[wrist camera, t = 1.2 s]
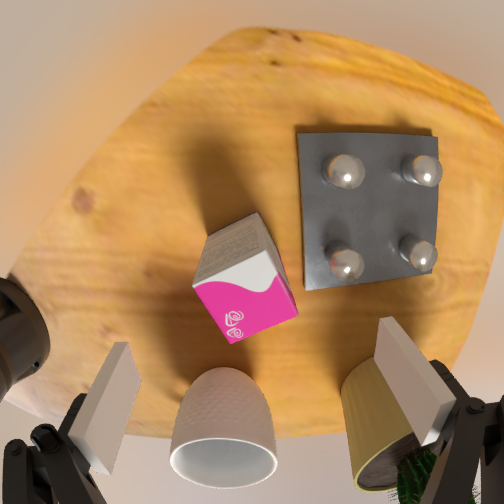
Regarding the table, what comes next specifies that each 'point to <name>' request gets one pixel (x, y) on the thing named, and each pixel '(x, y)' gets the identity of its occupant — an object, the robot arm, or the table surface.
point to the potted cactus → (384, 438)
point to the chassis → (367, 206)
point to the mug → (224, 432)
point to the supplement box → (243, 280)
